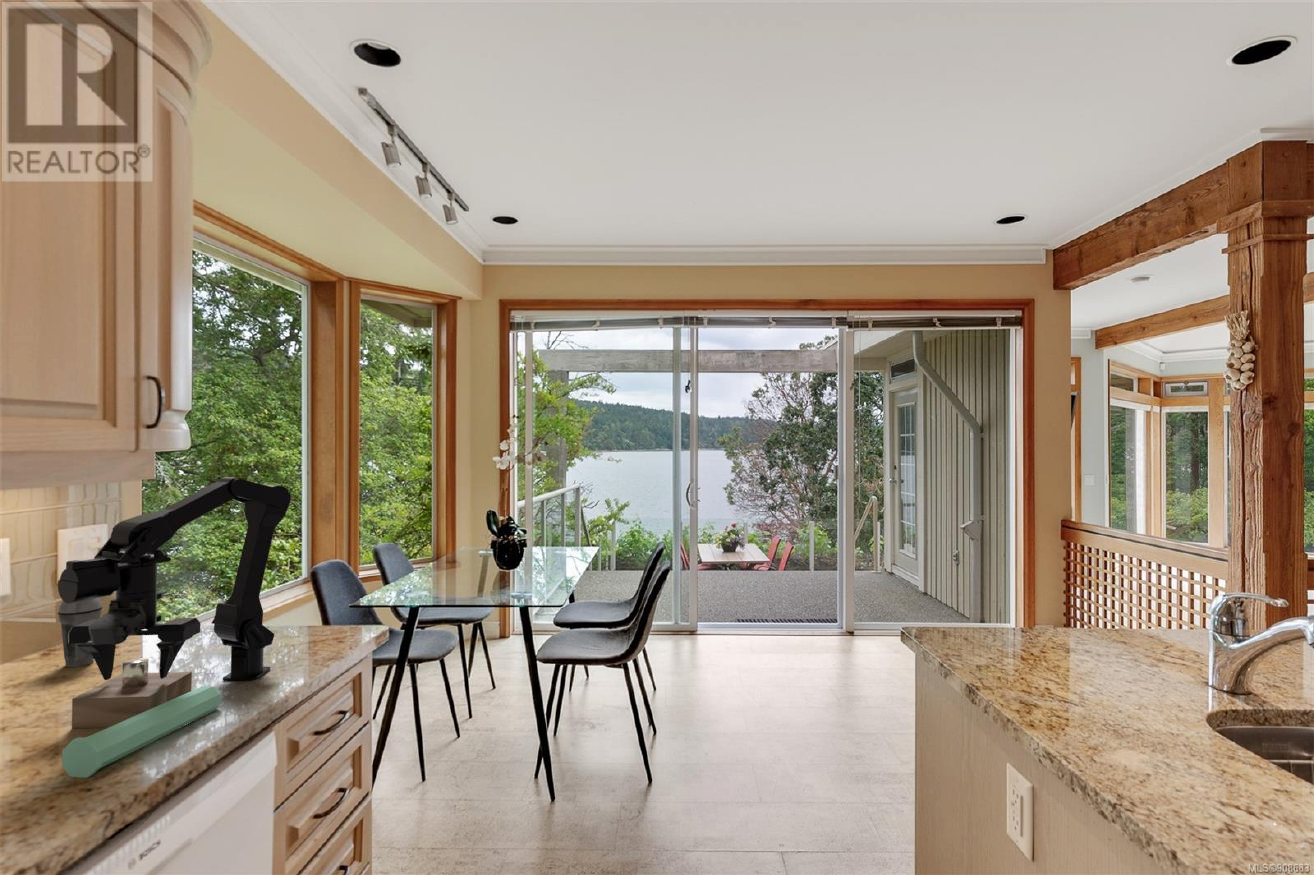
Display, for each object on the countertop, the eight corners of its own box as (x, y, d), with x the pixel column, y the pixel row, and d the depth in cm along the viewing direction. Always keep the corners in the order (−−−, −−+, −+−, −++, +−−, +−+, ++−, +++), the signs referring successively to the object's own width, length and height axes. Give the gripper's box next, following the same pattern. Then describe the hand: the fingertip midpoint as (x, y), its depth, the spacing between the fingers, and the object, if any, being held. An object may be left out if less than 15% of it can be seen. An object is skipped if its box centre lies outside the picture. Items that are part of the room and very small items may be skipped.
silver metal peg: (131, 705, 118) (131, 658, 118) (152, 705, 118) (153, 657, 118) (116, 713, 114) (117, 665, 114) (139, 713, 115) (139, 664, 115)
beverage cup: (47, 668, 138) (48, 573, 138) (83, 657, 145) (84, 567, 146) (75, 670, 137) (77, 575, 137) (110, 659, 144) (112, 568, 144)
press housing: (122, 700, 122) (122, 673, 122) (191, 698, 123) (191, 671, 123) (71, 728, 110) (72, 698, 110) (148, 726, 111) (149, 696, 111)
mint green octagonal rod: (206, 674, 119) (70, 731, 94) (234, 688, 119) (103, 749, 94) (194, 703, 119) (54, 769, 95) (221, 718, 119) (88, 787, 94)
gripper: (41, 602, 108) (40, 698, 107) (163, 600, 109) (162, 694, 109) (93, 587, 119) (91, 674, 118) (202, 586, 121) (201, 671, 120)
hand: (135, 678), depth 116 cm, fingers open, 9 cm apart
